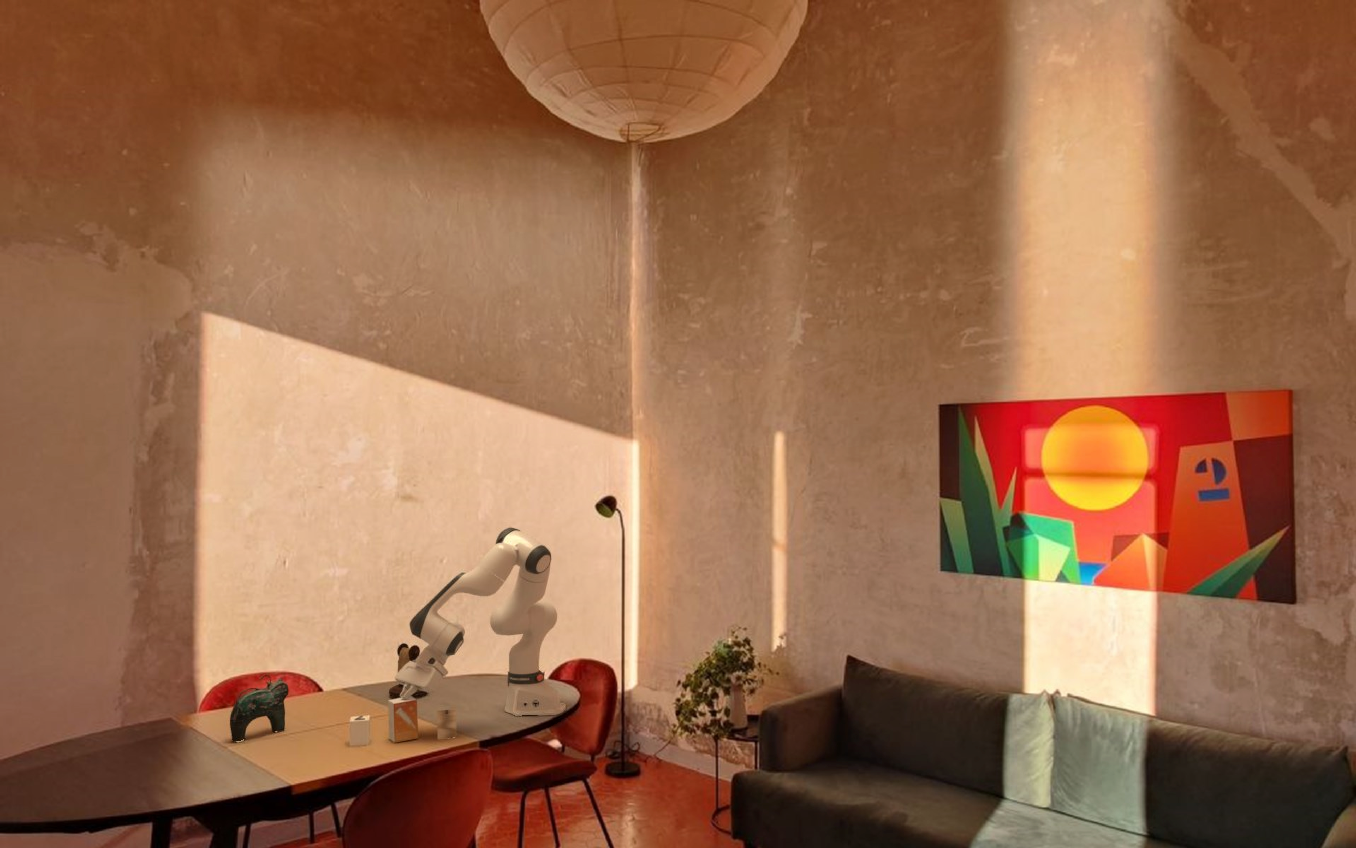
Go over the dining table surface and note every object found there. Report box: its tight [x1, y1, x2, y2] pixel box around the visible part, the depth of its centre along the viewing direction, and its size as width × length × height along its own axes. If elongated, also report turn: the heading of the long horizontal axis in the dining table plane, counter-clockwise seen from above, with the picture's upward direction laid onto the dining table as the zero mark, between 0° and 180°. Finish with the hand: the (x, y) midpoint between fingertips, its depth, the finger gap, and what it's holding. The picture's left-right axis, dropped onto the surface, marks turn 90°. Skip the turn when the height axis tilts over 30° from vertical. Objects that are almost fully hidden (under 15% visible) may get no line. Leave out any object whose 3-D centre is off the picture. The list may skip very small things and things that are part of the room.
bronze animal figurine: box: [229, 674, 290, 741], centre depth 326 cm, size 20×6×20 cm, turn 145°
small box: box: [387, 696, 419, 744], centre depth 321 cm, size 8×6×13 cm
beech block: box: [436, 708, 457, 740], centre depth 325 cm, size 6×6×8 cm
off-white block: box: [349, 714, 371, 747], centre depth 318 cm, size 6×6×8 cm
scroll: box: [388, 642, 428, 697], centre depth 379 cm, size 15×15×20 cm
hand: (403, 697), depth 321 cm, fingers closed
